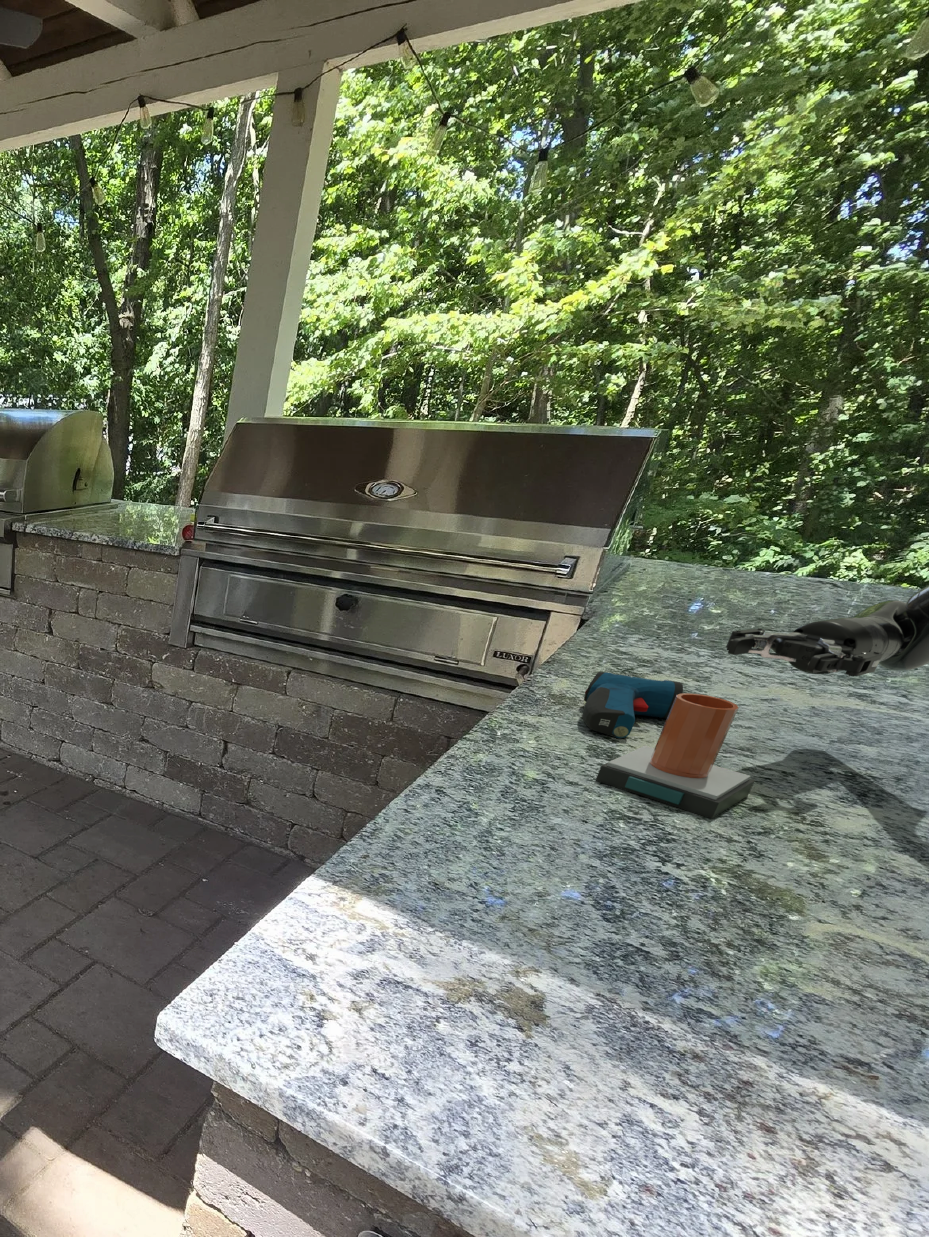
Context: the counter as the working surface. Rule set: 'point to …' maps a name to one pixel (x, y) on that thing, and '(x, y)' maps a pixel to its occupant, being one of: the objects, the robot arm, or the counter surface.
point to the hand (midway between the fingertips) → (771, 655)
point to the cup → (693, 735)
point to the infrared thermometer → (626, 702)
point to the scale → (676, 784)
